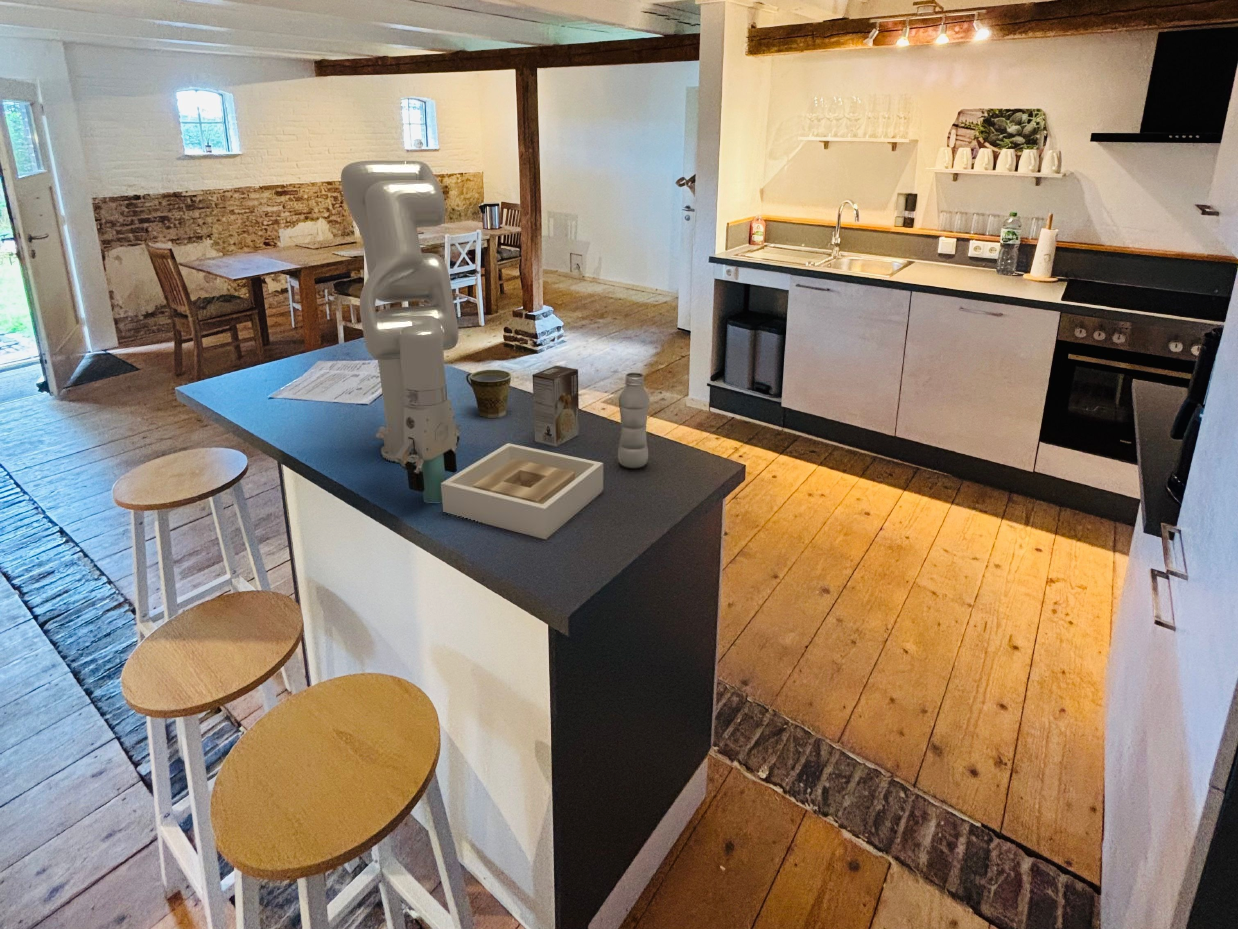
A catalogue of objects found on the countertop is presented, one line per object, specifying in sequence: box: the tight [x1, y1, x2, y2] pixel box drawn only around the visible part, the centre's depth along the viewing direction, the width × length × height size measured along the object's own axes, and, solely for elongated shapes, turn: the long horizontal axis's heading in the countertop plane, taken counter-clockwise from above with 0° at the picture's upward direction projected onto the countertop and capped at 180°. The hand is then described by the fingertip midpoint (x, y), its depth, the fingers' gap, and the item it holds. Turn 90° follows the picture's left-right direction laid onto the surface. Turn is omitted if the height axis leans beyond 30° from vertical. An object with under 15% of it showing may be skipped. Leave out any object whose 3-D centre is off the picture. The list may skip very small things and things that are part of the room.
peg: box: [420, 454, 447, 502], centre depth 144 cm, size 4×4×12 cm
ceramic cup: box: [465, 369, 512, 419], centre depth 189 cm, size 13×10×10 cm
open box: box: [441, 443, 604, 540], centre depth 145 cm, size 22×22×6 cm
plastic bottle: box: [617, 372, 651, 469], centre depth 158 cm, size 6×7×20 cm
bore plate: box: [472, 459, 575, 504], centre depth 145 cm, size 14×14×4 cm
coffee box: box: [531, 365, 580, 448], centre depth 173 cm, size 9×6×16 cm
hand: (433, 480), depth 145 cm, fingers open, 9 cm apart
